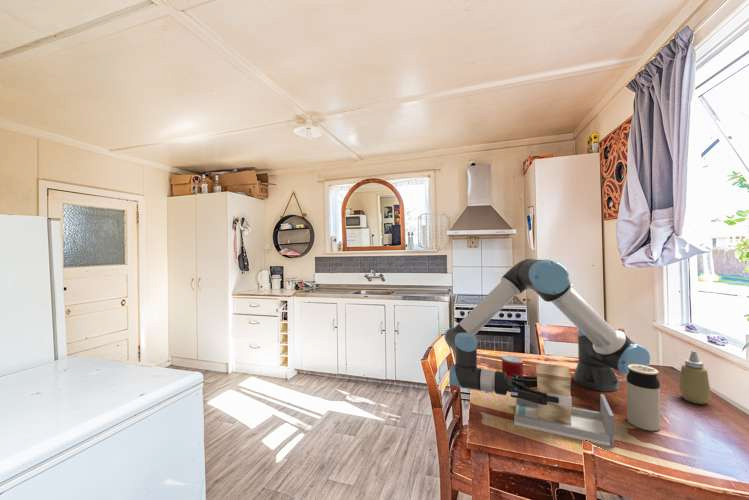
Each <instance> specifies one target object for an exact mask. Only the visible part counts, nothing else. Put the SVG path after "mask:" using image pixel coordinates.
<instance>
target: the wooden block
mask: <svg viewBox="0 0 749 500" xmlns="http://www.w3.org/2000/svg"><path fill="white" fill-rule="evenodd" d="M535 364H536V366H535V367H536V377H537V391H539V392H542V393H545V394H547V393H553V394H559V395H565V396H571V395H572V393H571V382H572V377H571V372H570V368H569V366H563V365H562V366H561V365H556V364H555V365H554V364H549V363H548V364H547V363H542V362H535ZM571 397H572V396H571ZM571 407H572V406H566V405H561V404H555V403H550V402H547V405H541V404H538V419H542V420H546V421H551V422H556V423H561V424H565V425H570V426H571Z"/></svg>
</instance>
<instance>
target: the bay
mask: <svg viewBox="0 0 749 500" xmlns="http://www.w3.org/2000/svg"><path fill="white" fill-rule="evenodd" d="M599 398H600V399H599V400H600V403H599V405H600V408H599V409H600V412H599V411H594V410H589V409H585V408H580V407H575V406H571V426H570V425H565V424H561V423H556V422H551V421H546V420H542V419H538V403H534V402H530V401H527V400H523V399H520V398H515V401H516V402H515V412H514V416H513V420H514V421H513V422H514V426H518V427H521V428H525V429H526V428H527V429H531V430H536V431H541V432H545V433H549V434H554V435H558V436H562V437H567V438H572V439H575V440H580V441H584V440H588V441H591V442H590V443H594V444H598V445H603V446H607V447H611V448H615V415H614V413H613V410H612V409H611V407H610V405H609V402H608V400H607V398H606V396H605V394H602V393H600V395H599ZM588 441H587V442H588Z"/></svg>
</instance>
